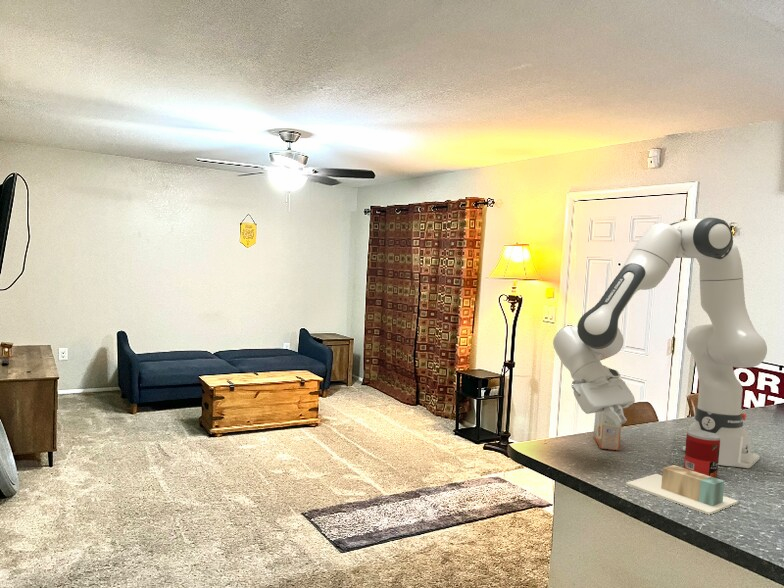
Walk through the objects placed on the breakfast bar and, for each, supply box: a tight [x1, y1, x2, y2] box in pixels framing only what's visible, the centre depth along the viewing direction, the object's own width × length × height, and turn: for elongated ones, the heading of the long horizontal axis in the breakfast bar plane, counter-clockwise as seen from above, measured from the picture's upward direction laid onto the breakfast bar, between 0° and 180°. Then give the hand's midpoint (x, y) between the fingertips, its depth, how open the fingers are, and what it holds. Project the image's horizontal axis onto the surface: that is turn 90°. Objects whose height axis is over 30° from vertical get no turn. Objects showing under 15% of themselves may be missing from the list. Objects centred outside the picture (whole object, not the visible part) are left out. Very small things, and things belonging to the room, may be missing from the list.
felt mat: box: [625, 473, 739, 516], centre depth 139 cm, size 14×20×1 cm
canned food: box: [683, 430, 720, 478], centre depth 155 cm, size 8×8×11 cm
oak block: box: [661, 464, 725, 506], centre depth 137 cm, size 5×5×12 cm
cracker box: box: [592, 408, 624, 452], centre depth 179 cm, size 14×6×21 cm, turn 168°
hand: (622, 423), depth 152 cm, fingers closed
